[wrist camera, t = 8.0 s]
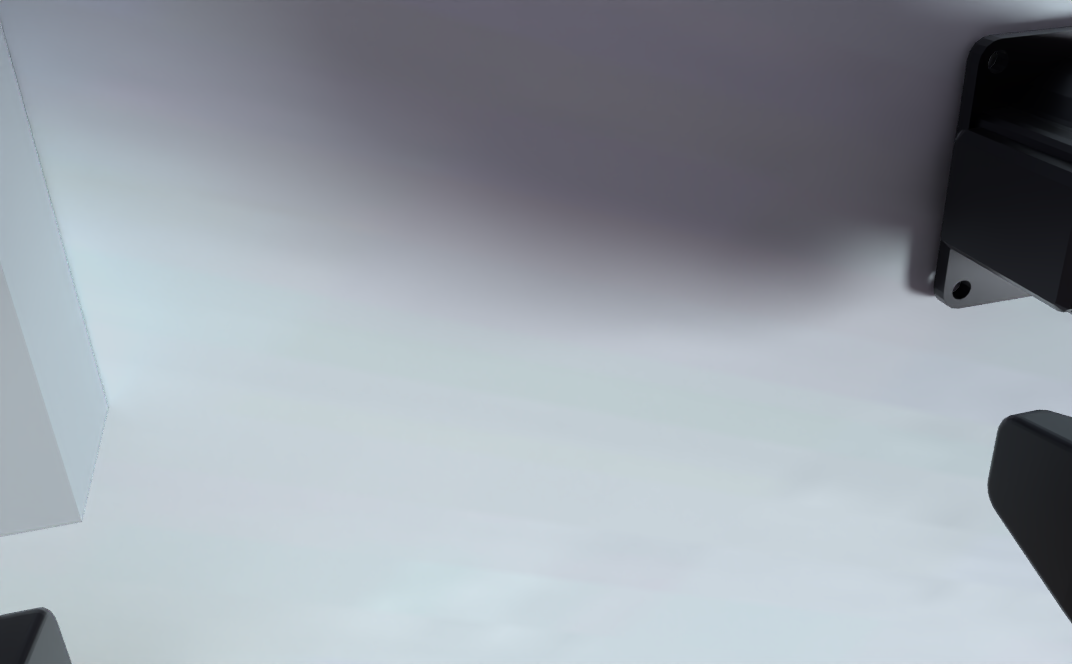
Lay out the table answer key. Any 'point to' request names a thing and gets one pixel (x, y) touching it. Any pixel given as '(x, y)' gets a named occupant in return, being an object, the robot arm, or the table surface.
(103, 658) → the table surface
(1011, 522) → the robot arm
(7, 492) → the grey and wooden blocks
